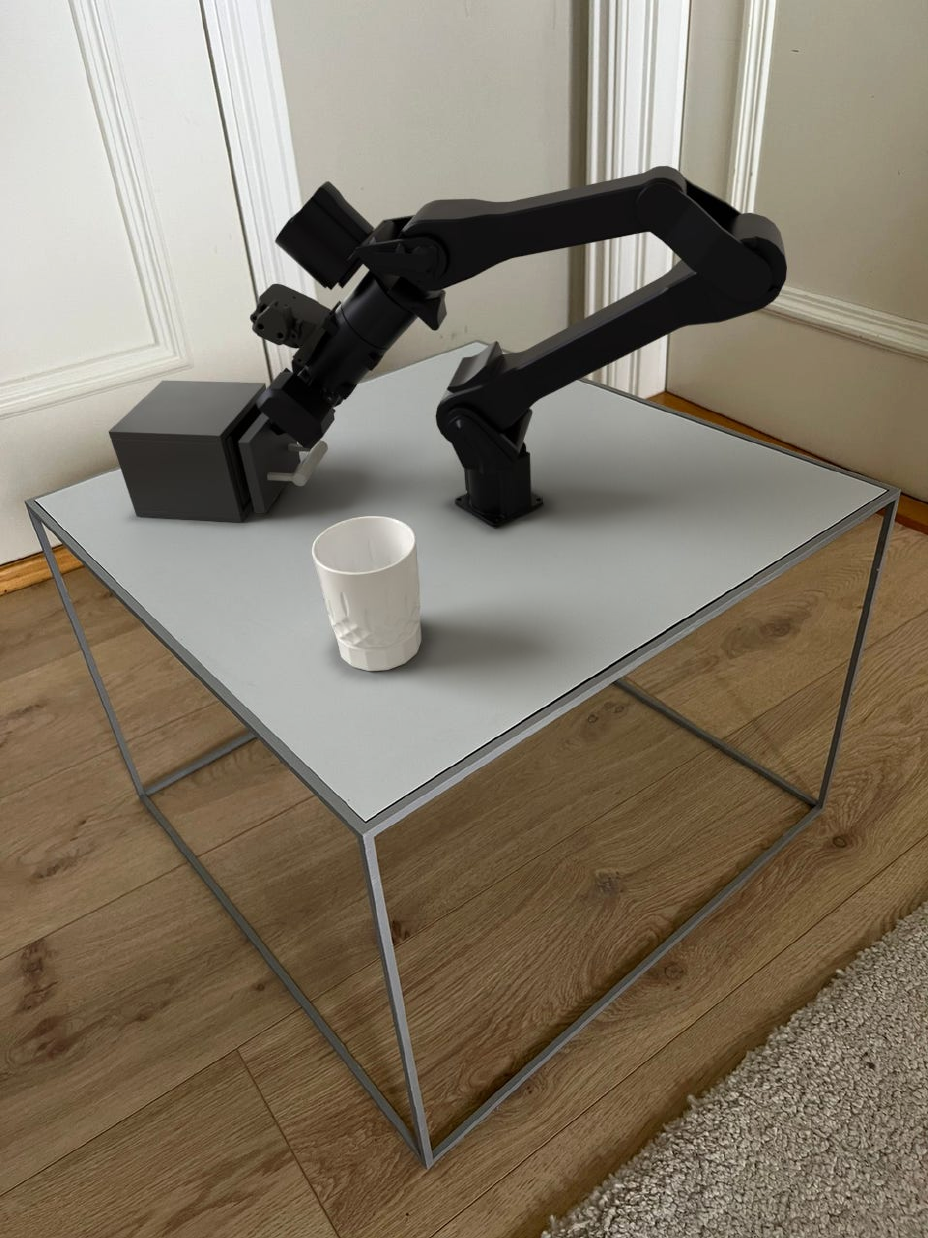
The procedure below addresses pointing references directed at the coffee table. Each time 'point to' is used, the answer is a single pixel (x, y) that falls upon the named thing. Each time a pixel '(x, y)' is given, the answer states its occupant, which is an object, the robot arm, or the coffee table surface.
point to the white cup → (371, 590)
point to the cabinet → (184, 450)
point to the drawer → (267, 460)
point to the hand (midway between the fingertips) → (274, 430)
